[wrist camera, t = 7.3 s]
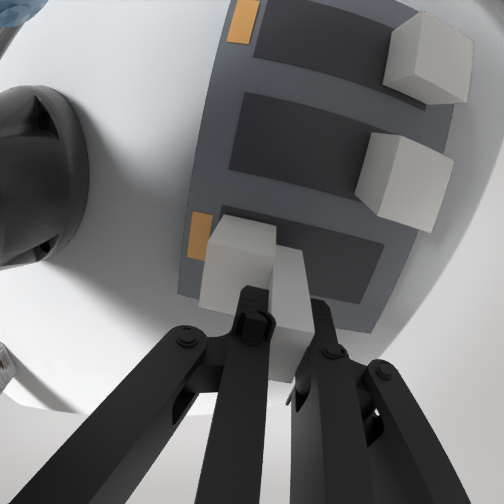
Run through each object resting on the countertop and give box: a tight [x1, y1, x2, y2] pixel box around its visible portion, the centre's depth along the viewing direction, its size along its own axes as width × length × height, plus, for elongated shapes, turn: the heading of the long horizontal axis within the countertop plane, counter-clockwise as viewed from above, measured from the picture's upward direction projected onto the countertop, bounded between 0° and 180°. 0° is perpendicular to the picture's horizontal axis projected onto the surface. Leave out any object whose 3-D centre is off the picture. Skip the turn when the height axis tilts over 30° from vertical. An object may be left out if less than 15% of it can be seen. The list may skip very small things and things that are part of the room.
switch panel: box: [178, 0, 454, 334], centre depth 15 cm, size 14×22×2 cm, turn 168°
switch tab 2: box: [382, 11, 474, 105], centre depth 10 cm, size 3×4×4 cm
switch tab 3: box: [355, 132, 455, 233], centre depth 12 cm, size 3×4×4 cm
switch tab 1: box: [198, 214, 276, 316], centre depth 15 cm, size 3×4×4 cm
